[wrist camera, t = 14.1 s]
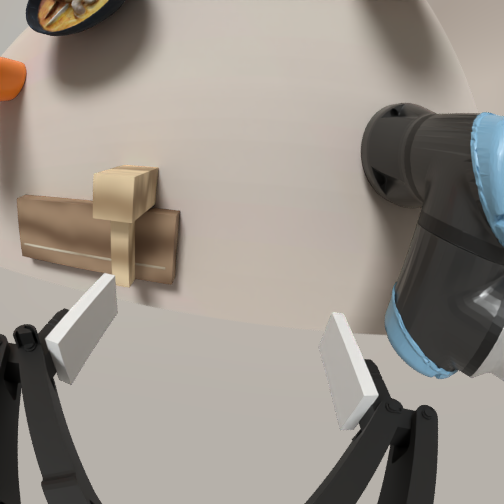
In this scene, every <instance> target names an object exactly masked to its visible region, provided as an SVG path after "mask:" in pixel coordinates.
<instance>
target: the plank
mask: <svg viewBox="0 0 504 504" xmlns="http://www.w3.org/2000/svg"><path fill="white" fill-rule="evenodd" d="M17 209H18V222H19V232H20V241H21V249H22V255H23V256H25V257H30V258H34V259H38V260H43V261H47V262H52V263H57V264H61V265H66V266H71V267H76V268H81V269H86V270H91V271H96V272H101V273H107V274H112V261H111V220H103V219H95V218H93V201H89V200H79V199H68V198H57V197H46V196H34V195H24V196H21V197H19V198H17ZM179 216H180V211H175V210H168V209H160V208H150V209H148V210H147V211H146V212H145V213H144V214H142V215H141V216H140V217H139V218H138V219H136V220H135V279H140V280H146V281H152V282H158V283H164V284H170V285H172V283H173V281H174V278H175V270H176V254H177V240H178V227H179Z"/></svg>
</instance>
